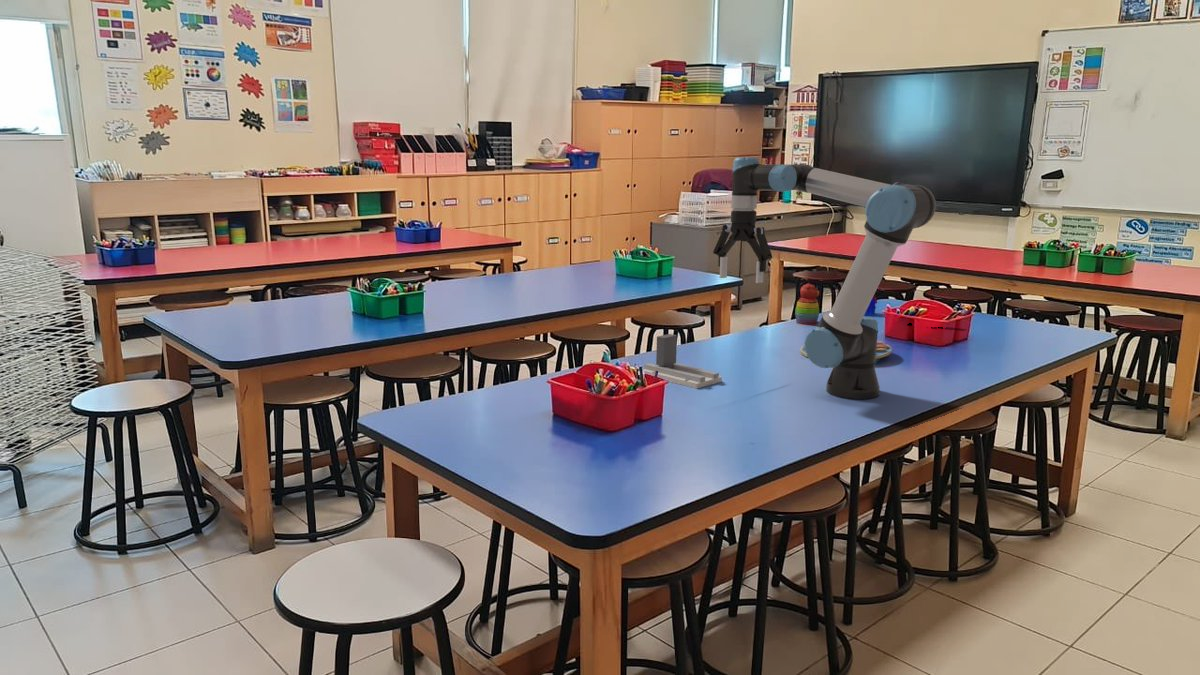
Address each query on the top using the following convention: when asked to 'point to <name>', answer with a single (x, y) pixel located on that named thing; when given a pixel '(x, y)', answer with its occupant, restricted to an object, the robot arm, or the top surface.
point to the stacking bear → (807, 306)
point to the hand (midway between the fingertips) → (740, 280)
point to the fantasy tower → (871, 307)
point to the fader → (666, 350)
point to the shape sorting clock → (881, 350)
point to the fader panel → (686, 383)
